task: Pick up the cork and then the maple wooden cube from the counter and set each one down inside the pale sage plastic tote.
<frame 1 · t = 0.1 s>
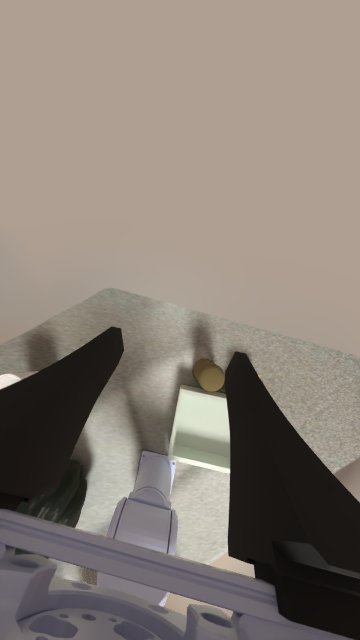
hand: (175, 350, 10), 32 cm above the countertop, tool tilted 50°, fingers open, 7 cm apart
tote: (211, 421, 38), on the countertop
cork: (204, 371, 41), on the countertop
squash: (64, 481, 37), on the countertop
white cup: (48, 384, 41), on the countertop
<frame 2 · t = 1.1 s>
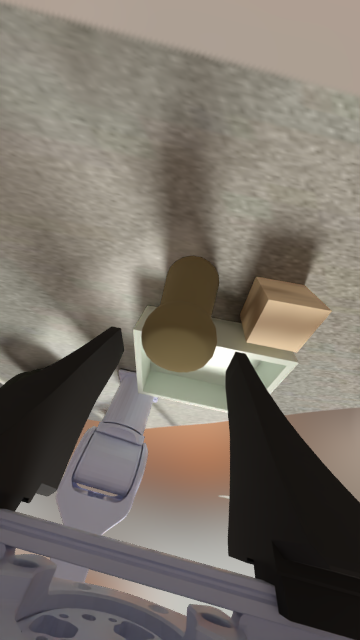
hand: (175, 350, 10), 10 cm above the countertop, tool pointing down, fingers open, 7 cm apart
tote: (202, 352, 25), on the countertop
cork: (192, 282, 19), on the countertop
maple cube: (268, 300, 19), on the countertop
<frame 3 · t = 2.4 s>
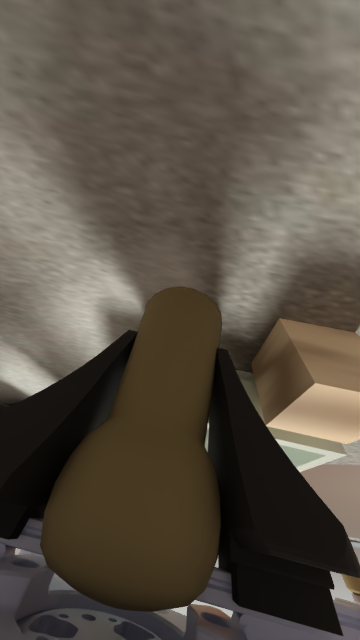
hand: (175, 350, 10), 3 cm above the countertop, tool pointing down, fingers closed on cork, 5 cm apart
squeeze bottle: (338, 537, 70), on the countertop
tote: (199, 400, 19), on the countertop
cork: (182, 321, 13), on the countertop, touching gripper
maple cube: (295, 349, 13), on the countertop
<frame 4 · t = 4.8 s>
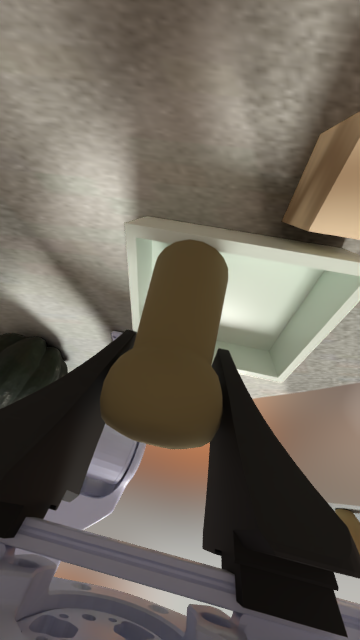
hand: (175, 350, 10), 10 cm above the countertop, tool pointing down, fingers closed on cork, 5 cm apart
squeeze bottle: (343, 509, 70), on the countertop
tote: (220, 296, 19), on the countertop
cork: (190, 276, 13), point 4 cm above the countertop, touching gripper
squash: (43, 349, 32), on the countertop
maple cube: (331, 188, 12), on the countertop
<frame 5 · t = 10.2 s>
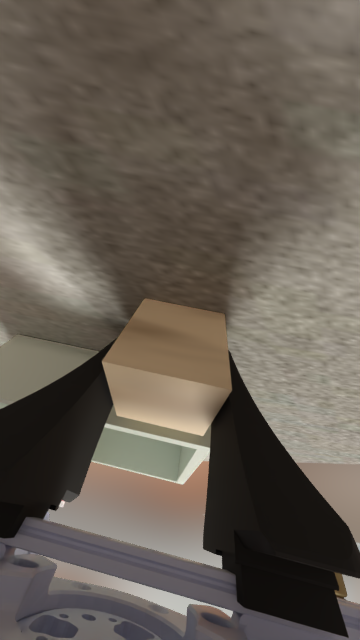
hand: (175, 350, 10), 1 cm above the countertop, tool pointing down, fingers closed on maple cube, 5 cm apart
squeeze bottle: (319, 538, 69), on the countertop
tote: (120, 393, 18), on the countertop
maple cube: (179, 334, 12), on the countertop, touching gripper
when the fingers open (5 cm above the countertop, at t = 13.6 s): maple cube drops 3 cm, resting on tote.
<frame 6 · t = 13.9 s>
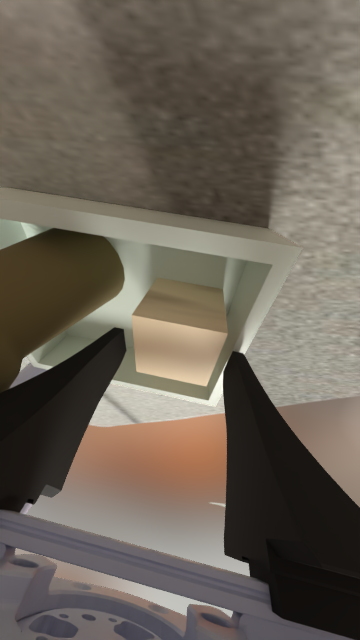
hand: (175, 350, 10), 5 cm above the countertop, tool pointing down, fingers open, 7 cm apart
tote: (137, 296, 15), on the countertop
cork: (89, 266, 13), point 1 cm above the countertop, touching gripper, tote
maple cube: (185, 310, 14), point 1 cm above the countertop, touching tote
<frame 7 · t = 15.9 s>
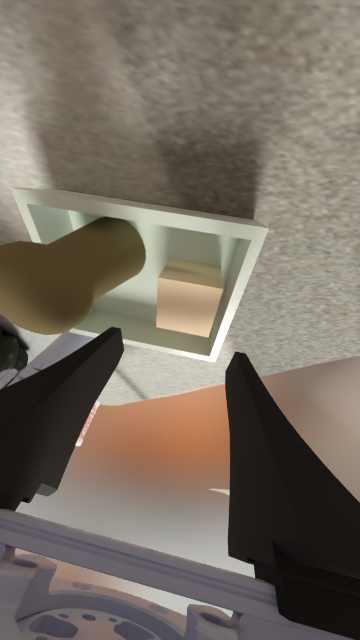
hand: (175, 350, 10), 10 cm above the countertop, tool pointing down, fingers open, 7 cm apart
tote: (153, 275, 19), on the countertop
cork: (118, 249, 17), point 1 cm above the countertop, touching tote
squash: (4, 338, 32), on the countertop
maple cube: (191, 285, 18), point 1 cm above the countertop, touching tote
beverage cup: (91, 400, 43), on the countertop
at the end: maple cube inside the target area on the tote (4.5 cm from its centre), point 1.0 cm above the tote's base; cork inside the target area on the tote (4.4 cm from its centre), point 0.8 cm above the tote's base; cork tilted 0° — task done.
